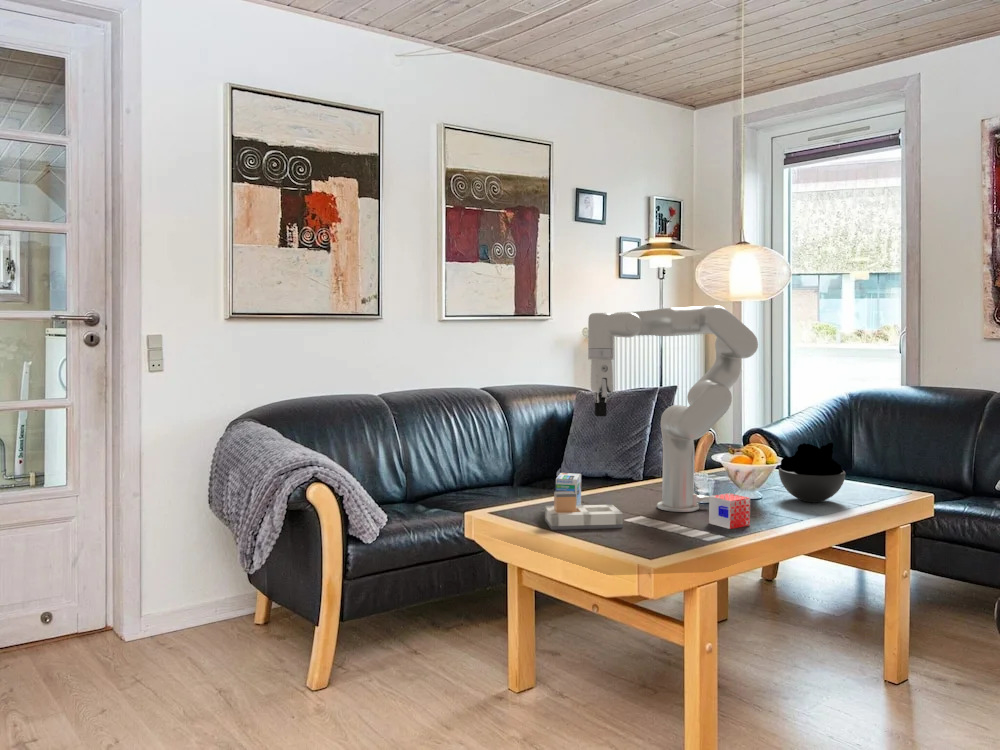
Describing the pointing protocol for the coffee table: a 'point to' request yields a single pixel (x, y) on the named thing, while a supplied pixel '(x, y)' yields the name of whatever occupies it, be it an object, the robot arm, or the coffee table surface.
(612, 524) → the socket plate
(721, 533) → the coffee table surface
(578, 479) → the light bulb box
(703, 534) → the coffee table surface
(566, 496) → the tan box
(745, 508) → the red and white box
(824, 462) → the bowl of black rocks
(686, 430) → the robot arm
